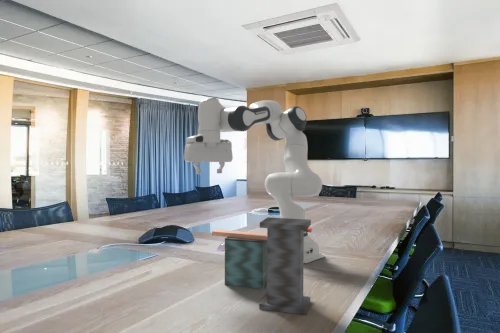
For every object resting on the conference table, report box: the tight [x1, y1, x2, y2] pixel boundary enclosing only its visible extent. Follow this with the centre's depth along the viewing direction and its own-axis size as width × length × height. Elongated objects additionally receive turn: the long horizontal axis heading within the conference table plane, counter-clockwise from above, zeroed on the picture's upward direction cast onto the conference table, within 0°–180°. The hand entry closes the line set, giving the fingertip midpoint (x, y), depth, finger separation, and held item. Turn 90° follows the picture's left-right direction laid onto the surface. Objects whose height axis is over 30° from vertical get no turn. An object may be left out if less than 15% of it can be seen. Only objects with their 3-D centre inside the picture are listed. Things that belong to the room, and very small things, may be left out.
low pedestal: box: [224, 237, 267, 290], centre depth 128 cm, size 14×10×17 cm
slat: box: [211, 229, 267, 240], centre depth 127 cm, size 26×4×2 cm, turn 69°
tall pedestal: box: [258, 216, 312, 316], centre depth 108 cm, size 14×10×26 cm
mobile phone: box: [215, 242, 225, 252], centre depth 178 cm, size 8×1×15 cm
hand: (209, 173), depth 139 cm, fingers open, 8 cm apart
